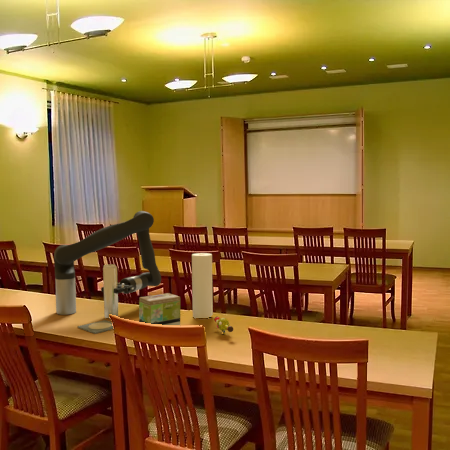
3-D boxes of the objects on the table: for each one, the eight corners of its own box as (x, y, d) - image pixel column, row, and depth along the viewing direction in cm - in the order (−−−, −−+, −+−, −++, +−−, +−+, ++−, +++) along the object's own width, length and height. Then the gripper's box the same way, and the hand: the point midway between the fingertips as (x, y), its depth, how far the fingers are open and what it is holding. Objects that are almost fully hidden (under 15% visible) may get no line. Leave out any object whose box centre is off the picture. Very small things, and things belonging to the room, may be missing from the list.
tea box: (151, 336, 209) (150, 301, 208) (138, 331, 217) (138, 297, 216) (181, 329, 219) (180, 295, 218) (168, 324, 226) (167, 292, 225)
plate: (77, 327, 223) (77, 325, 223) (105, 321, 233) (105, 319, 233) (94, 333, 213) (94, 332, 213) (122, 327, 223) (122, 325, 223)
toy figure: (209, 329, 219) (209, 313, 218) (221, 327, 221) (221, 312, 220) (224, 341, 202) (224, 324, 201) (237, 339, 204) (237, 322, 203)
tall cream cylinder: (115, 319, 236) (113, 266, 234) (102, 318, 237) (100, 265, 235) (120, 315, 242) (119, 263, 241) (107, 315, 244) (106, 263, 242)
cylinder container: (215, 317, 237) (214, 254, 235) (196, 319, 234) (195, 255, 232) (208, 313, 246) (207, 251, 244) (190, 315, 243) (189, 252, 240)
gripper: (119, 276, 255) (96, 281, 241) (142, 278, 248) (120, 284, 234) (120, 290, 256) (97, 297, 241) (142, 293, 249) (120, 300, 235)
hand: (108, 290), depth 238 cm, fingers open, 8 cm apart
